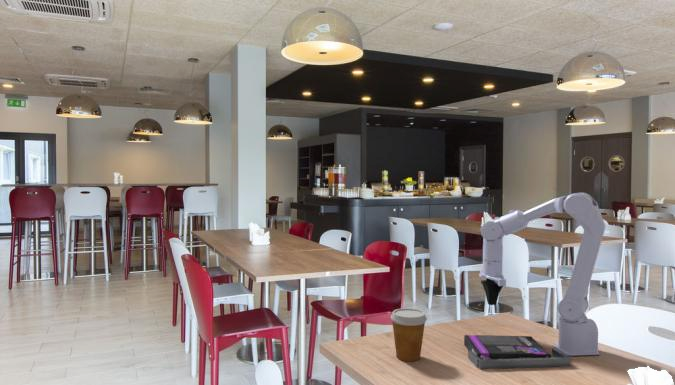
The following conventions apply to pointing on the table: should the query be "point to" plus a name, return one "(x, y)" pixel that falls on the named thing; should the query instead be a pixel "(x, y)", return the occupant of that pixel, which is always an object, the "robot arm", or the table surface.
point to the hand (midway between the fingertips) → (491, 304)
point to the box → (504, 347)
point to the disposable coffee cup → (408, 333)
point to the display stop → (522, 361)
